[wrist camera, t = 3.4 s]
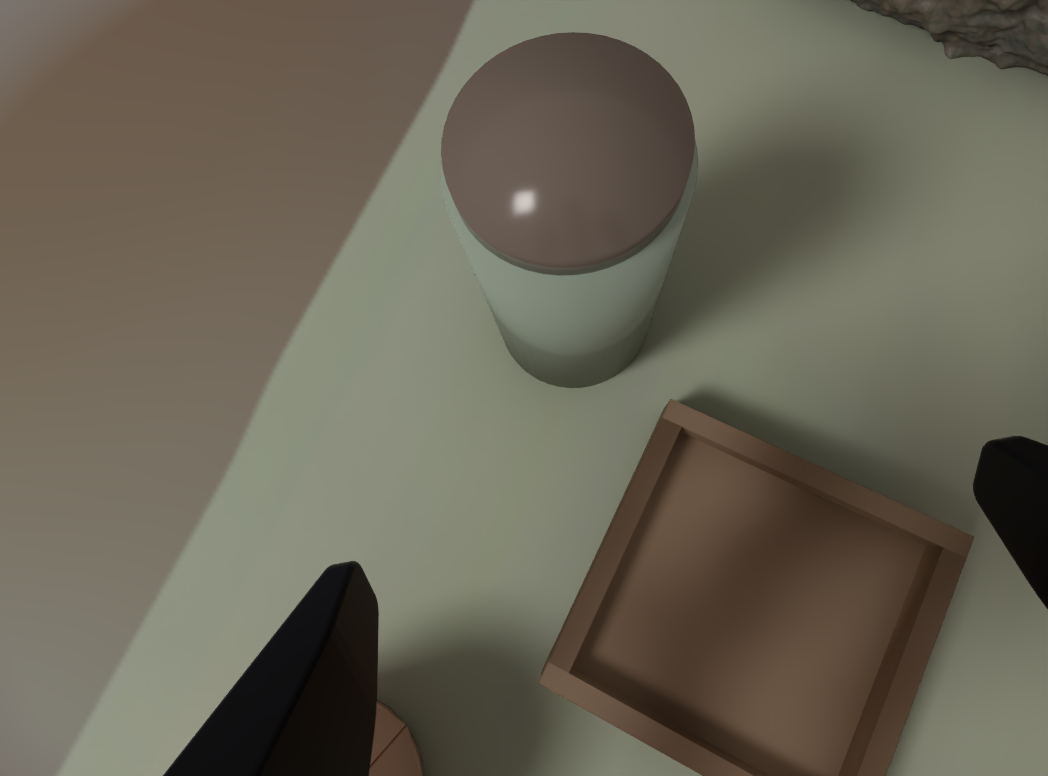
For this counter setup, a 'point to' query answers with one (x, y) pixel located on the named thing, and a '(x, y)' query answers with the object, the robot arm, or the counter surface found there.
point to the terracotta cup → (393, 747)
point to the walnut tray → (756, 609)
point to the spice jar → (570, 197)
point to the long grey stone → (978, 27)
